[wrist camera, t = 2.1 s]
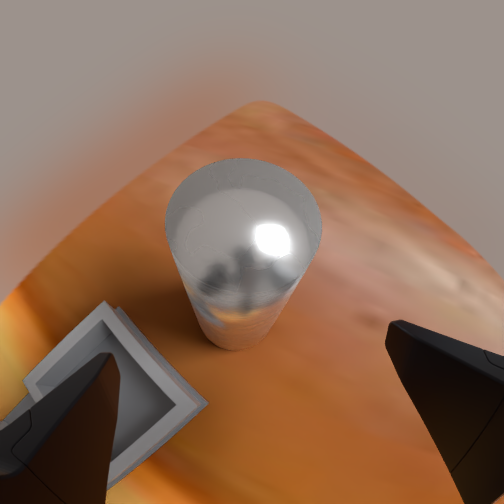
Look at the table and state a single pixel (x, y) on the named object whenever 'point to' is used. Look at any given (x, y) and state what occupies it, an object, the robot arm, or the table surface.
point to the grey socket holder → (131, 386)
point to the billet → (241, 245)
